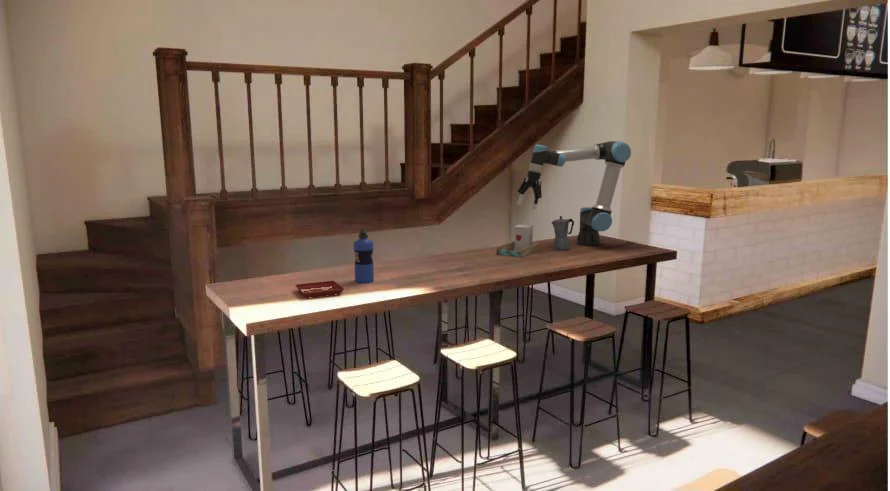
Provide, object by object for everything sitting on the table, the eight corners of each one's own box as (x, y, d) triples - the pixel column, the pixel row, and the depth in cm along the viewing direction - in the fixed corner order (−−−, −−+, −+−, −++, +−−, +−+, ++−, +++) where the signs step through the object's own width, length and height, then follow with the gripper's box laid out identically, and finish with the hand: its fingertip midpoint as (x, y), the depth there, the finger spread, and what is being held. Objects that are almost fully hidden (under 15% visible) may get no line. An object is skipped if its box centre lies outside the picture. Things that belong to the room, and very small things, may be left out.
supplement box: (513, 251, 376) (514, 226, 373) (517, 248, 384) (518, 224, 381) (528, 252, 372) (529, 227, 369) (532, 249, 380) (533, 224, 378)
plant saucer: (295, 291, 288) (294, 284, 288) (333, 286, 296) (333, 279, 295) (303, 300, 272) (303, 293, 272) (344, 296, 280) (344, 288, 279)
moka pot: (546, 248, 383) (547, 215, 380) (567, 246, 390) (568, 214, 386) (555, 251, 375) (556, 217, 371) (577, 249, 381) (578, 216, 377)
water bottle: (357, 284, 299) (356, 231, 294) (352, 280, 307) (350, 228, 302) (376, 282, 302) (375, 230, 298) (370, 278, 311) (369, 227, 306)
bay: (539, 250, 378) (539, 243, 377) (522, 257, 358) (522, 249, 357) (514, 247, 386) (514, 240, 385) (496, 254, 366) (496, 246, 365)
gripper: (517, 167, 379) (509, 202, 382) (543, 173, 357) (534, 210, 360) (527, 169, 382) (519, 204, 385) (553, 175, 361) (544, 211, 364)
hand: (526, 207), depth 373 cm, fingers open, 13 cm apart
